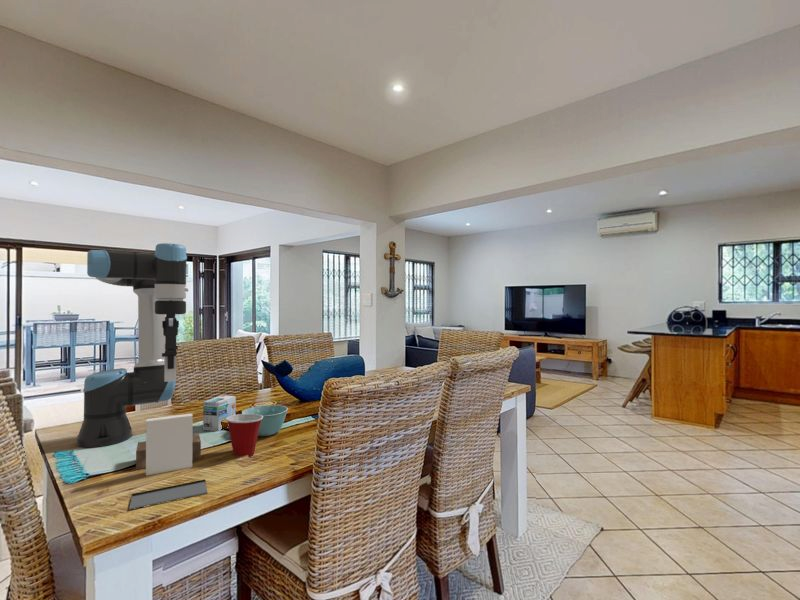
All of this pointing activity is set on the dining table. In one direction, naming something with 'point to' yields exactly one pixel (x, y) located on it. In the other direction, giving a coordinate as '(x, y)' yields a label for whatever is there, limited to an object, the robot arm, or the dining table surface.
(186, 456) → the rectangular insert block
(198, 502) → the dining table surface
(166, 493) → the rubber mat
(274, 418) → the bowl
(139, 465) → the slot box
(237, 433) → the plastic cup
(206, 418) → the light bulb box
